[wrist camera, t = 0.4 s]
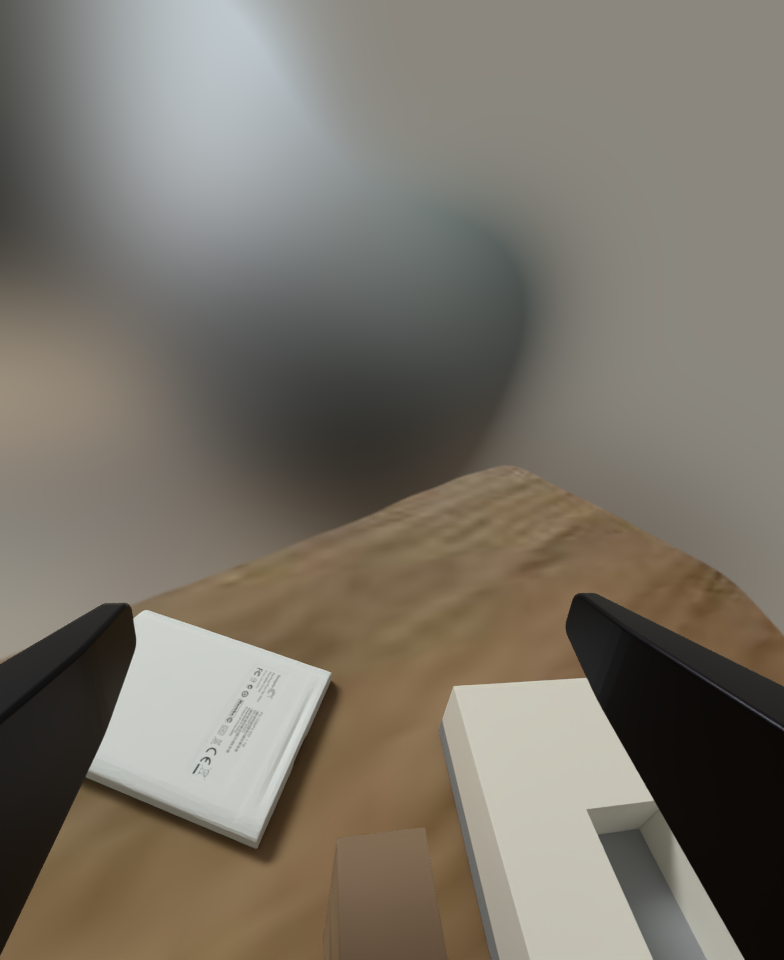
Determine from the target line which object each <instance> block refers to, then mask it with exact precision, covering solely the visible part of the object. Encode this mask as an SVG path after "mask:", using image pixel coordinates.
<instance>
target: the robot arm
mask: <svg viewBox="0 0 784 960" xmlns="http://www.w3.org/2000/svg"><path fill="white" fill-rule="evenodd" d="M566 632H567V636H568V638H569V640H570V642H571V645H572V647H573V649H574V651H575V653H576V656H577V658H578V660H579V662H580V664H581V667H582V669H583V671H584V673H585V675H586V678H587V680H588V682H589V684H590V686H591V689H592V691H593V693H594V695H595V697H596V699H597V701H598V703H599V705H600V706H601V708H602V710H603V712H604V714H605V715H606V717H607V719H608V721H609V722H610V724H611V726H612V728H613V729H614V731H615V733H616V735H617V737H618V738H619V740H620V742H621V744H622V745H623V747H624V749H625V751H626V752H627V754H628V756H629V758H630V759H631V761H632V763H633V765H634V766H635V768H636V770H637V772H638V773H639V775H640V777H641V779H642V780H643V782H644V784H645V786H646V788H647V789H648V791H649V793H650V795H651V796H652V798H653V800H654V802H655V803H656V805H657V807H658V809H659V810H660V812H661V814H662V816H663V817H664V819H665V821H666V823H667V824H668V826H669V828H670V830H671V831H672V833H673V835H674V837H675V838H676V840H677V842H678V844H679V846H680V847H681V849H682V851H683V853H684V854H685V856H686V858H687V860H688V861H689V863H690V865H691V867H692V868H693V870H694V872H695V874H696V875H697V877H698V879H699V881H700V882H701V884H702V886H703V888H704V889H705V891H706V893H707V895H708V896H709V898H710V900H711V902H712V904H713V905H714V907H715V909H716V911H717V912H718V914H719V916H720V918H721V919H722V921H723V923H724V925H725V926H726V928H727V930H728V932H729V933H730V935H731V937H732V939H733V940H734V942H735V944H736V946H737V947H738V949H739V951H740V953H741V954H742V956H743V958H744V960H784V686H782V685H780V684H778V683H776V682H774V681H772V680H770V679H768V678H766V677H764V676H762V675H760V674H758V673H756V672H754V671H751V670H749V669H747V668H745V667H743V666H741V665H739V664H737V663H735V662H733V661H731V660H729V659H727V658H725V657H723V656H721V655H719V654H717V653H715V652H713V651H711V650H709V649H707V648H705V647H703V646H701V645H699V644H697V643H695V642H693V641H691V640H689V639H687V638H685V637H683V636H681V635H679V634H677V633H675V632H673V631H671V630H669V629H667V628H665V627H663V626H661V625H659V624H656V623H654V622H652V621H650V620H648V619H646V618H644V617H642V616H640V615H638V614H636V613H634V612H632V611H630V610H628V609H626V608H624V607H622V606H620V605H618V604H616V603H614V602H612V601H610V600H608V599H606V598H604V597H602V596H600V595H598V594H595V593H578V594H576V595H575V596H574V598H573V600H572V603H571V607H570V610H569V614H568V617H567V620H566ZM135 648H136V633H135V627H134V620H133V614H132V609H131V607H130V605H129V604H127V603H105V604H102V605H100V606H98V607H97V608H95V609H93V610H92V611H90V612H88V613H86V614H85V615H83V616H81V617H79V618H78V619H76V620H74V621H73V622H71V623H69V624H68V625H66V626H64V627H63V628H61V629H59V630H57V631H56V632H54V633H52V634H51V635H49V636H47V637H46V638H44V639H42V640H40V641H39V642H37V643H35V644H34V645H32V646H30V647H28V648H27V649H25V650H23V651H22V652H20V653H18V654H17V655H15V656H13V657H11V658H10V659H8V660H6V661H5V662H3V663H1V664H0V955H1V953H2V951H3V949H4V947H5V945H6V942H7V940H8V938H9V936H10V934H11V932H12V930H13V928H14V926H15V924H16V921H17V919H18V917H19V915H20V913H21V911H22V909H23V907H24V905H25V903H26V900H27V898H28V896H29V894H30V892H31V890H32V888H33V886H34V884H35V882H36V880H37V877H38V875H39V873H40V871H41V869H42V867H43V865H44V863H45V861H46V859H47V856H48V854H49V852H50V850H51V848H52V846H53V844H54V842H55V840H56V838H57V835H58V833H59V831H60V829H61V827H62V825H63V823H64V821H65V819H66V817H67V814H68V812H69V810H70V808H71V806H72V804H73V802H74V800H75V798H76V796H77V794H78V791H79V789H80V787H81V785H82V783H83V781H84V779H85V777H86V775H87V773H88V770H89V768H90V766H91V764H92V762H93V760H94V758H95V756H96V754H97V752H98V749H99V747H100V745H101V743H102V740H103V738H104V736H105V733H106V731H107V728H108V726H109V723H110V720H111V717H112V715H113V712H114V709H115V706H116V703H117V701H118V698H119V695H120V692H121V689H122V686H123V684H124V681H125V678H126V675H127V672H128V669H129V667H130V664H131V661H132V658H133V655H134V652H135Z"/></svg>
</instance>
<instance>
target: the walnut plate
mask: <svg viewBox="0 0 784 960" xmlns="http://www.w3.org/2000/svg"><path fill="white" fill-rule="evenodd" d="M323 960H447V955H446V949H445V943H444V937H443V931H442V925H441V920H440V914H439V908H438V902H437V896H436V890H435V884H434V878H433V872H432V866H431V860H430V854H429V848H428V842H427V837H426V831H425V827H422V828H414V829H406V830H398V831H390V832H382V833H374V834H366V835H358V836H350V837H342V838H337V843H336V850H335V857H334V865H333V872H332V879H331V886H330V893H329V900H328V907H327V914H326V921H325V928H324V935H323Z"/></svg>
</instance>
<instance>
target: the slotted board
mask: <svg viewBox="0 0 784 960" xmlns="http://www.w3.org/2000/svg"><path fill="white" fill-rule="evenodd" d="M439 733H440V738H441V742H442V747H443V751H444V755H445V760H446V764H447V769H448V773H449V777H450V782H451V786H452V791H453V795H454V799H455V804H456V808H457V812H458V817H459V821H460V826H461V830H462V834H463V839H464V843H465V848H466V852H467V856H468V861H469V865H470V870H471V874H472V878H473V883H474V887H475V891H476V896H477V900H478V905H479V909H480V913H481V918H482V922H483V927H484V931H485V935H486V940H487V944H488V949H489V953H490V957H491V960H744V958H743V956H742V954H741V953H740V951H739V949H738V947H737V946H736V944H735V942H734V940H733V939H732V937H731V935H730V933H729V932H728V930H727V928H726V926H725V925H724V923H723V921H722V919H721V918H720V916H719V914H718V912H717V911H716V909H715V907H714V905H713V904H712V902H711V900H710V898H709V896H708V895H707V893H706V891H705V889H704V888H703V886H702V884H701V882H700V881H699V879H698V877H697V875H696V874H695V872H694V870H693V868H692V867H691V865H690V863H689V861H688V860H687V858H686V856H685V854H684V853H683V851H682V849H681V847H680V846H679V844H678V842H677V840H676V838H675V837H674V835H673V833H672V831H671V830H670V828H669V826H668V824H667V823H666V821H665V819H664V817H663V816H662V814H661V812H660V810H659V809H658V807H657V805H656V803H655V802H654V800H653V798H652V796H651V795H650V793H649V791H648V789H647V788H646V786H645V784H644V782H643V780H642V779H641V777H640V775H639V773H638V772H637V770H636V768H635V766H634V765H633V763H632V761H631V759H630V758H629V756H628V754H627V752H626V751H625V749H624V747H623V745H622V744H621V742H620V740H619V738H618V737H617V735H616V733H615V731H614V729H613V728H612V726H611V724H610V722H609V721H608V719H607V717H606V715H605V714H604V712H603V710H602V708H601V706H600V705H599V703H598V701H597V699H596V697H595V695H594V693H593V691H592V689H591V686H590V684H589V682H588V680H587V678H578V679H562V680H546V681H530V682H514V683H498V684H482V685H466V686H453V689H452V692H451V695H450V698H449V701H448V704H447V707H446V710H445V713H444V716H443V719H442V722H441V725H440V728H439Z"/></svg>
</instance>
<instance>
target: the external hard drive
mask: <svg viewBox="0 0 784 960" xmlns="http://www.w3.org/2000/svg"><path fill="white" fill-rule="evenodd" d="M133 620H134V627H135V633H136V648H135V652H134V655H133V658H132V661H131V664H130V667H129V669H128V672H127V675H126V678H125V681H124V684H123V686H122V689H121V692H120V695H119V698H118V701H117V703H116V706H115V709H114V712H113V715H112V717H111V720H110V723H109V726H108V728H107V731H106V733H105V736H104V738H103V740H102V743H101V745H100V747H99V749H98V752H97V754H96V756H95V758H94V760H93V762H92V764H91V766H90V768H89V770H88V773H87V775H86V778H88V779H91V780H93V781H95V782H98V783H100V784H103V785H105V786H107V787H110V788H112V789H115V790H117V791H119V792H122V793H124V794H126V795H129V796H131V797H133V798H136V799H138V800H140V801H143V802H145V803H148V804H150V805H152V806H155V807H157V808H160V809H162V810H164V811H167V812H169V813H171V814H174V815H176V816H178V817H181V818H183V819H186V820H188V821H190V822H193V823H195V824H198V825H200V826H202V827H205V828H207V829H209V830H212V831H214V832H217V833H219V834H221V835H224V836H226V837H229V838H231V839H233V840H236V841H238V842H240V843H243V844H245V845H247V846H250V847H252V848H255V849H257V848H258V846H259V844H260V841H261V839H262V837H263V834H264V832H265V830H266V827H267V825H268V823H269V821H270V818H271V816H272V814H273V812H274V809H275V807H276V805H277V802H278V800H279V798H280V796H281V793H282V791H283V789H284V786H285V784H286V782H287V780H288V777H289V775H290V773H291V770H292V768H293V764H294V761H295V759H296V756H297V754H298V752H299V750H300V747H301V745H302V743H303V741H304V738H305V737H306V736H307V734H308V732H309V730H310V727H311V725H312V723H313V720H314V718H315V716H316V714H317V711H318V709H319V707H320V705H321V702H322V700H323V698H324V696H325V693H326V691H327V689H328V686H329V684H330V682H331V674H332V673H331V672H328V671H325V670H322V669H319V668H316V667H313V666H310V665H307V664H304V663H301V662H299V661H296V660H293V659H290V658H287V657H284V656H281V655H278V654H275V653H273V652H270V651H267V650H264V649H261V648H258V647H255V646H252V645H249V644H246V643H243V642H240V641H237V640H234V639H231V638H228V637H225V636H222V635H219V634H217V633H214V632H211V631H208V630H205V629H202V628H199V627H196V626H193V625H190V624H187V623H184V622H181V621H178V620H175V619H172V618H169V617H166V616H163V615H160V614H157V613H154V612H151V611H148V610H144V611H143V612H141V613H140V614H138V615H137V616H136V617H135V618H134V619H133Z"/></svg>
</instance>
